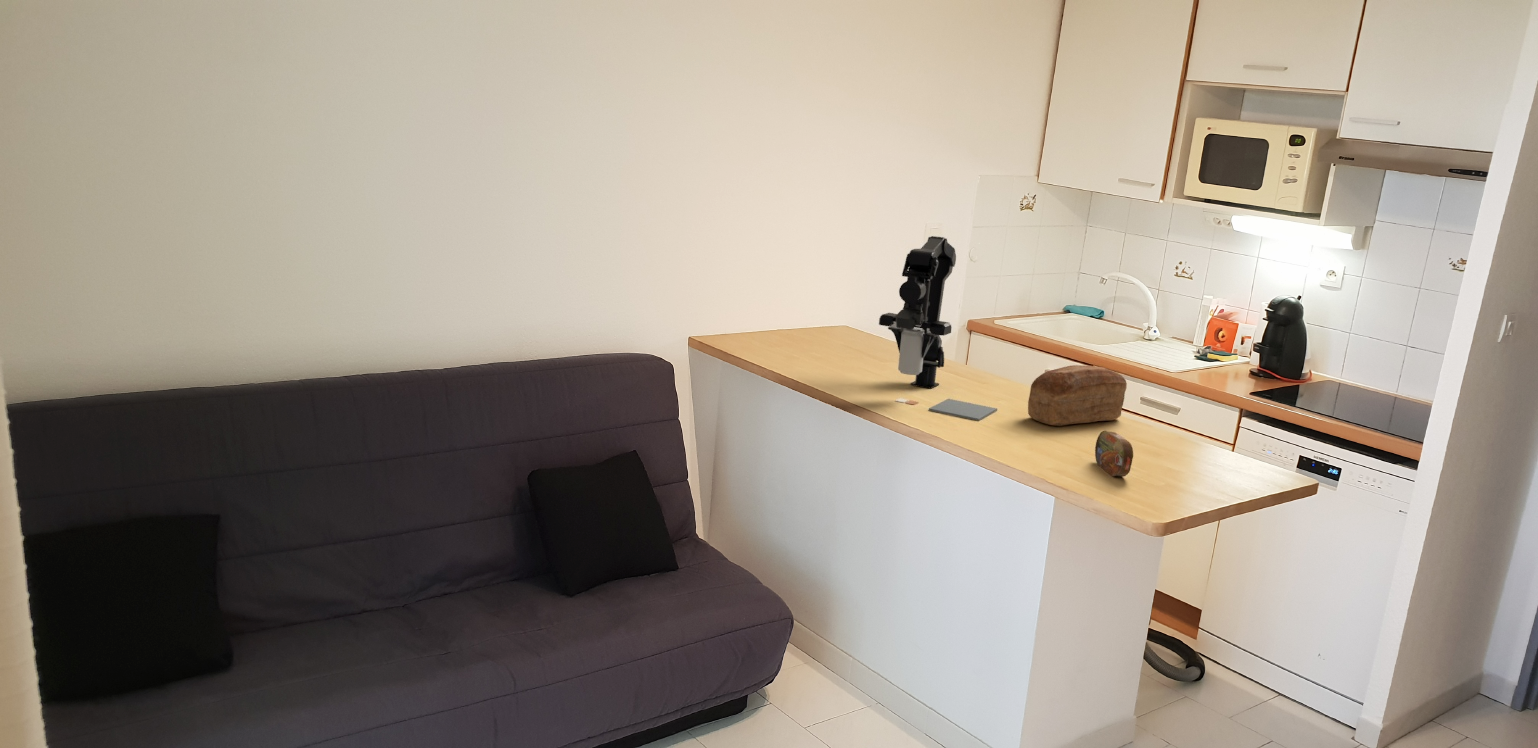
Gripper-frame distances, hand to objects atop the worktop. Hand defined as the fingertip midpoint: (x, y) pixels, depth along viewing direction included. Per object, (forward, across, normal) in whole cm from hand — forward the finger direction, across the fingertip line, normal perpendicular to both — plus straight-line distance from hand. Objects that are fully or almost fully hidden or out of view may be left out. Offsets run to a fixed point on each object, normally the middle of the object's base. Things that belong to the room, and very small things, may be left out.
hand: (911, 355), depth 286 cm
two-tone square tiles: (+13, 0, 0) cm, 13 cm away
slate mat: (+13, +15, +3) cm, 20 cm away
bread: (+13, +41, +17) cm, 46 cm away
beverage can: (+5, 0, 0) cm, 5 cm away
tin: (+13, +60, -22) cm, 65 cm away
